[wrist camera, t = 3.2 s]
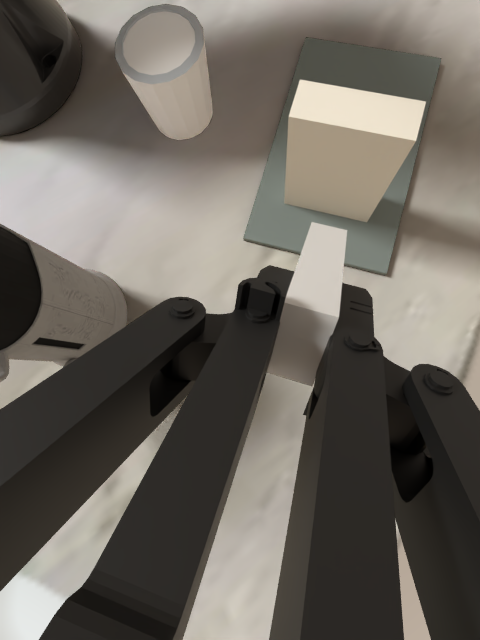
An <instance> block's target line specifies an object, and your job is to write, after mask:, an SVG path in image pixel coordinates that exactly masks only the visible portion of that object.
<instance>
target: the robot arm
mask: <svg viewBox="0 0 480 640" xmlns="http://www.w3.org/2000/svg"><path fill="white" fill-rule="evenodd" d="M81 63H82V50H81V44H80V40H79V37H78V35H77V33H76V31H75V29H74V27H73V26H72V24H71V22H70V21H69V19H68V17H67V15H66V14H65V12H64V10H63V9H62V7H61V6H60V5H59V3H58V2H57V1H56V0H0V136H1V135H10V134H15V133H19V132H22V131H25V130H28V129H30V128H32V127H34V126H36V125H38V124H40V123H41V122H43V121H44V120H46V119H47V118H49V117H50V116H51V115H52V114H53V113H55V112H56V111H57V110H58V109H59V108H60V107H61V106H62V104H63V103H64V102H65V101H66V99H67V98H68V97H69V95H70V94H71V92H72V90H73V88H74V86H75V84H76V82H77V79H78V76H79V73H80V69H81ZM346 238H347V230H344V229H340V228H335V227H331V226H327V225H323V224H318V223H314V222H312V223H311V226H310V228H309V231H308V234H307V237H306V240H305V243H304V246H303V249H302V252H301V255H300V257H299V260H298V263H297V266H296V269H295V272H294V271H290V270H286V269H282V268H278V267H274V266H271V265H269V266H267V267H266V268H264V269H262V270H261V271H260V273H259V275H258V277H257V278H249V279H246V280H243V281H242V282H241V283H240V284H239V285H238V292H237V298H236V305H235V310H234V311H233V312H232V313H229V314H206V309H205V307H204V306H203V304H202V303H200V302H199V301H197V300H195V299H191V298H188V297H175V298H170V299H167V300H165V301H163V302H162V303H160V304H159V305H157V306H156V307H154V308H153V309H151V310H150V311H148V312H147V313H145V314H143V315H142V316H140V317H139V318H137V319H136V320H134V321H133V322H131V323H130V324H128V325H127V326H125V327H124V328H122V329H121V330H119V331H118V332H116V333H115V334H113V335H112V336H110V337H109V338H107V339H106V340H104V341H103V342H101V343H100V344H98V345H97V346H95V347H94V348H92V349H91V350H89V351H88V352H86V353H85V354H83V355H82V356H80V357H79V358H77V359H76V360H74V361H73V362H71V363H70V364H68V365H67V366H65V367H64V368H62V369H61V370H59V371H58V372H56V373H55V374H53V375H52V376H50V377H49V378H47V379H46V380H44V381H43V382H41V383H40V384H38V385H37V386H35V387H34V388H32V389H31V390H29V391H28V392H26V393H25V394H23V395H21V396H20V397H18V398H17V399H15V400H14V401H12V402H11V403H9V404H8V405H6V406H5V407H3V408H2V409H0V591H1V590H2V589H3V588H4V587H5V586H6V585H7V584H8V583H9V581H10V580H11V579H12V578H13V577H14V576H15V575H16V574H17V573H18V572H19V571H20V570H21V569H22V568H23V567H24V566H25V565H26V564H27V563H28V562H29V561H30V560H31V558H32V557H33V556H34V555H35V554H36V553H37V552H38V551H39V550H40V549H41V548H42V547H43V546H44V545H45V544H46V543H47V542H48V541H49V540H50V539H51V537H52V536H53V535H54V534H55V533H56V532H57V531H58V530H59V529H60V528H61V527H62V526H63V525H64V524H65V523H66V522H67V521H68V520H69V519H70V518H71V517H72V515H73V514H74V513H75V512H76V511H77V510H78V509H79V508H80V507H81V506H82V505H83V504H84V503H85V502H86V501H87V500H88V499H89V498H90V497H91V496H92V495H93V493H94V492H95V491H96V490H97V489H98V488H99V487H100V486H101V485H102V484H103V483H104V482H105V481H106V480H107V479H108V478H109V477H110V476H111V475H112V474H113V472H114V471H115V470H116V469H117V468H118V467H119V466H120V465H121V464H122V463H123V462H124V461H125V460H126V459H127V458H128V457H129V456H130V455H131V454H132V453H133V452H134V450H135V449H136V448H137V447H138V446H139V445H140V444H141V443H142V442H143V441H144V440H145V439H146V438H147V437H148V436H149V435H150V434H151V433H152V432H153V431H154V429H155V428H156V427H157V426H158V425H159V424H160V423H161V422H162V421H163V420H164V419H165V418H166V417H167V416H168V415H169V414H170V413H171V412H172V411H173V410H174V409H175V407H176V406H177V405H178V404H179V403H180V402H181V401H182V400H183V399H184V398H185V397H186V396H187V395H188V396H187V398H186V400H185V402H184V404H183V405H182V407H181V409H180V411H179V413H178V415H177V416H176V418H175V420H174V422H173V424H172V426H171V427H170V429H169V431H168V433H167V435H166V437H165V439H164V440H163V442H162V444H161V446H160V448H159V450H158V451H157V453H156V455H155V457H154V459H153V461H152V462H151V464H150V466H149V468H148V470H147V472H146V474H145V475H144V477H143V479H142V481H141V483H140V485H139V486H138V488H137V490H136V492H135V494H134V496H133V498H132V499H131V501H130V503H129V505H128V507H127V509H126V510H125V512H124V514H123V516H122V518H121V520H120V521H119V523H118V525H117V527H116V529H115V531H114V533H113V534H112V536H111V538H110V540H109V542H108V544H107V545H106V547H105V549H104V551H103V553H102V555H101V556H100V558H99V560H98V562H97V564H96V566H95V568H94V569H93V571H92V573H91V574H90V576H89V578H88V579H87V580H86V582H85V583H84V584H83V586H82V587H81V588H80V589H79V590H77V591H76V592H75V593H74V594H72V595H71V596H70V597H69V598H68V599H67V600H66V601H65V602H64V603H63V605H62V606H61V607H60V609H59V610H58V611H57V613H56V614H55V615H54V617H53V618H52V620H51V621H50V623H49V625H48V626H47V628H46V629H45V631H44V633H43V634H42V636H41V637H40V639H39V640H183V636H184V633H185V630H186V627H187V624H188V621H189V618H190V614H191V611H192V608H193V605H194V602H195V599H196V595H197V592H198V589H199V586H200V583H201V580H202V576H203V573H204V570H205V567H206V564H207V561H208V558H209V554H210V551H211V548H212V545H213V542H214V539H215V535H216V532H217V529H218V526H219V523H220V520H221V516H222V513H223V510H224V507H225V504H226V501H227V497H228V494H229V491H230V488H231V485H232V482H233V479H234V475H235V472H236V469H237V466H238V463H239V460H240V456H241V453H242V450H243V447H244V444H245V441H246V437H247V434H248V431H249V428H250V425H251V422H252V419H253V415H254V412H255V409H256V406H257V403H258V400H259V396H260V393H261V390H262V387H263V384H264V380H265V376H266V372H267V373H270V374H274V375H277V376H280V377H283V378H287V379H290V380H293V381H296V382H300V383H303V384H306V385H309V386H312V385H313V383H314V380H315V384H314V388H313V391H312V393H311V396H310V398H309V401H308V403H307V406H306V408H305V411H304V414H303V415H306V422H305V428H304V434H303V440H302V446H301V452H300V458H299V464H298V470H297V476H296V482H295V488H294V494H293V500H292V506H291V512H290V518H289V524H288V530H287V536H286V542H285V548H284V554H283V560H282V566H281V572H280V578H279V584H278V590H277V596H276V602H275V608H274V614H273V620H272V626H271V632H270V638H269V640H404V633H403V620H402V607H401V592H400V579H399V565H398V551H397V537H396V524H395V518H396V522H397V525H398V529H399V532H400V535H401V539H402V542H403V546H404V549H405V552H406V555H407V559H408V562H409V566H410V569H411V573H412V576H413V580H414V583H415V586H416V590H417V593H418V596H419V600H420V603H421V606H422V610H423V613H424V617H425V620H426V624H427V627H428V630H429V634H430V637H431V640H480V411H479V410H478V408H477V406H476V405H475V403H474V401H473V400H472V398H471V397H470V395H469V393H468V392H467V390H466V388H465V387H464V386H463V384H462V383H461V382H460V381H459V380H458V379H457V378H456V377H455V376H453V375H452V374H451V373H449V372H448V371H446V370H444V369H442V368H440V367H437V366H433V365H429V364H419V365H417V366H415V367H413V368H412V370H411V372H410V371H408V370H406V369H404V368H402V367H400V366H398V365H396V364H394V363H393V362H391V361H389V360H388V359H387V358H385V357H384V356H383V349H382V347H381V344H380V343H379V342H378V341H377V339H376V338H375V337H374V324H373V308H372V307H373V303H372V297H371V296H370V294H369V293H368V291H367V290H366V289H364V288H360V287H356V286H352V285H348V284H344V283H342V280H343V269H344V259H345V248H346Z"/></svg>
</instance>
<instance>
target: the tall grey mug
mask: <svg viewBox="0 0 480 640" xmlns="http://www.w3.org/2000/svg"><path fill="white" fill-rule="evenodd" d="M126 324H127V305H126V300H125V298H124V295H123V293H122V291H121V289H120V288H119V286H118V285H117V284H116V283H115V282H114V281H113V280H112V279H111V278H109V277H108V276H106V275H105V274H103V273H101V272H97V271H94V270H87V269H83V268H81V267H79V266H77V265H75V264H73V263H72V262H70V261H68V260H66V259H64V258H62V257H61V256H59V255H57V254H55V253H53V252H51V251H49V250H48V249H46V248H44V247H42V246H40V245H38V244H37V243H35V242H33V241H31V240H29V239H27V238H25V237H24V236H22V235H20V234H18V233H16V232H14V231H13V230H11V229H9V228H7V227H5V226H3V225H1V224H0V382H1V381H3V380H4V379H6V377H7V376H8V374H9V359H16V360H35V361H53V362H54V363H56V364H59V365H62V366H63V368H64V367H65V366H67V365H68V364H70V363H71V362H73V361H74V360H76V359H77V358H79V357H80V356H82V355H83V354H85V353H86V352H88V351H89V350H91V349H92V348H94V347H95V346H97V345H98V344H100V343H101V342H103V341H104V340H106V339H107V338H109V337H110V336H112V335H113V334H115V333H116V332H118V331H119V330H121V329H122V328H124V327H125V326H126Z"/></svg>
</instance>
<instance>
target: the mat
mask: <svg viewBox="0 0 480 640" xmlns="http://www.w3.org/2000/svg"><path fill="white" fill-rule="evenodd" d="M440 62H441V58H437V57H430V56H424V55H417V54H411V53H405V52H398V51H392V50H386V49H379V48H373V47H366V46H360V45H354V44H347V43H341V42H334V41H328V40H322V39H315V38H309V37H306V38H305V42H304V45H303V48H302V51H301V54H300V58H299V61H298V64H297V67H296V71H295V74H294V77H293V80H292V83H291V87H290V90H289V93H288V96H287V99H286V103H285V106H284V109H283V112H282V115H281V119H280V122H279V125H278V128H277V132H276V135H275V138H274V141H273V144H272V148H271V151H270V154H269V157H268V160H267V164H266V167H265V170H264V173H263V177H262V180H261V183H260V186H259V189H258V193H257V196H256V199H255V202H254V205H253V209H252V212H251V215H250V218H249V222H248V225H247V228H246V231H245V234H244V238H243V239H244V240H245V241H249V242H253V243H257V244H261V245H265V246H269V247H273V248H277V249H281V250H285V251H289V252H293V253H297V254H301V252H302V249H303V246H304V243H305V240H306V237H307V234H308V231H309V228H310V226H311V223H312V222H314V223H318V224H323V225H327V226H331V227H335V228H340V229H344V230H347V238H346V248H345V259H344V265H345V266H349V267H353V268H357V269H361V270H365V271H369V272H373V273H377V274H381V275H386V274H387V270H388V267H389V263H390V259H391V255H392V251H393V247H394V243H395V239H396V235H397V231H398V227H399V223H400V219H401V215H402V211H403V207H404V204H405V200H406V196H407V192H408V188H409V184H410V180H411V176H412V172H413V168H414V164H415V160H416V156H417V152H418V148H419V144H420V141H421V137H422V133H423V129H424V125H425V121H426V117H427V113H428V109H429V105H430V101H431V97H432V93H433V89H434V85H435V81H436V78H437V74H438V70H439V66H440ZM300 80H306V81H311V82H317V83H323V84H328V85H334V86H340V87H346V88H351V89H357V90H363V91H368V92H374V93H380V94H386V95H391V96H397V97H403V98H408V99H414V100H420V101H426V104H425V108H424V112H423V116H422V120H421V124H420V128H419V131H418V135H417V139H416V142H415V144H414V145H413V147H412V148H411V150H410V152H409V153H408V155H407V157H406V158H405V160H404V162H403V163H402V165H401V167H400V168H399V170H398V172H397V173H396V175H395V177H394V178H393V180H392V182H391V183H390V185H389V187H388V188H387V190H386V192H385V193H384V195H383V196H382V198H381V200H380V201H379V203H378V205H377V206H376V208H375V210H374V211H373V213H372V215H371V216H370V218H369V220H368V221H367V222H363V221H359V220H354V219H350V218H346V217H341V216H337V215H332V214H328V213H324V212H319V211H315V210H311V209H306V208H302V207H298V206H293V205H289V204H284V197H285V177H286V158H287V138H288V118H289V113H290V110H291V107H292V104H293V100H294V97H295V94H296V91H297V87H298V84H299V81H300Z"/></svg>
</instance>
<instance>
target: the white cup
mask: <svg viewBox="0 0 480 640" xmlns="http://www.w3.org/2000/svg"><path fill="white" fill-rule="evenodd" d="M115 59H116V60H117V62H118V64H119V66H120V68H121V70H122V72H123V74H124V75H125V77H126V78H127V80H128V82H129V83H130V85H131V86H132V88H133V89H134V91H135V93H136V94H137V96H138V97H139V99H140V101H141V102H142V104H143V105H144V107H145V108H146V110H147V112H148V113H149V115H150V116H151V118H152V120H153V121H154V123H155V124H156V126H157V128H158V129H159V131H160V132H162V133H163V134H164V135H165V136H167V137H168V138H172V139H176V140H184V139H191V138H193V137H195V136H197V135H198V134H200V133H202V132H203V130H204V129H205V128H206V127H207V126H208V125H209V123H210V120H211V118H212V115H213V108H212V98H211V90H210V81H209V73H208V65H207V57H206V49H205V40H204V32H203V27H202V26H201V24H200V22H199V21H198V19H197V17H196V15H194V14H193V13H191V12H190V11H188V10H187V9H185V8H183V7H181V6H175V5H170V4H162V5H157V6H151V7H148V8H146V9H144V10H142V11H140V12H138V13H137V14H135V15H133V16H132V17H131V18H130V19H129V20H128V21H127V22H126V24H125V25H124V26H123V27H122V28H121V30H120V33H119V35H118V37H117V40H116V42H115Z"/></svg>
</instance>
